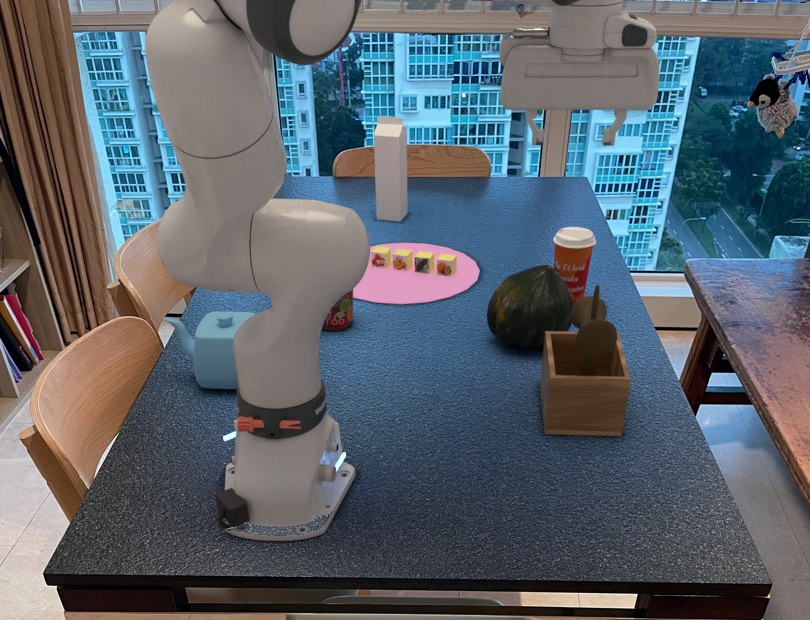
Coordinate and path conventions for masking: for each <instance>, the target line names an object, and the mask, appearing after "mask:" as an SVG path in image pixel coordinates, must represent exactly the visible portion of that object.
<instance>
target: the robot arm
mask: <svg viewBox="0 0 810 620" xmlns="http://www.w3.org/2000/svg"><path fill="white" fill-rule="evenodd" d="M472 1H474V2H503V3H511V4H518V5H519V4H520V5H528V6H535V7H544V8H549V20H548V27H532V28H524V27H515V28H512V30H511V31H508V32H507V33H505V35H503V36H502V39H501V40H500V43H499V56H498V57H499V62H500V64H501V66H502V67H503V70H502V76H501V83H500V84H501V85H500V91H499V102H500V104H501V106H502V108H503V109H505V110H507V111H525V119H526V121H527V124H528V126H529V129H530V130H531V133H532V135H531V146H534V147H535V146H544V138H545V129H544V128H538V126H537V124H536V122H535V120H534V119H537V117H538V111H587V110H588V111H613V115H614V117H615V119H614V121H613V122H612V124H611V125H610V127H609V128H603V130H602V135H603V136H602V138H601V144H602V146H603V147H607V146H608V147H614V146H615V142H616V135H617V133H618V131H619V130H620V128H621V127H622V126H623V124H624V123H625V122H626V120H627V118H628V117H627V115H628V111H650V110H651V109H652V107H654V106H655V105H656V103H657V101H658V95H659V86H660V61H659V57H658V55H657V53H656V51H655V50H654V48H653V47H654V45H656V41H657V36H658V35H657V29H656V27H655V26H654V24H653V23H652V22H651V21H649V20H647V19H645V18H642V17H640V16H638V15H635V14H632V13H629V12H626V11H623V7H624V0H472ZM361 3H362V0H172V1H171V3H169V4H167V5H166V6H165V7H163V8H162V9H161V10H160V11H159V12H157V14H156V15H155V16H154V17H153V18H152V20H151V22H150V24H149V26H148V28H147V31H146V35H145V38H144V39H145V40H144V54H145V60H146V66H147V72H148V76H149V81H150V85H151V89H152V93H153V97H154V100H155V104H156V107H157V110H158V113H159V116H160V119H161V122H162V125H163V127H164V130H165V132H166V135H167V137H168V139H169V141H170V142H169V143H170V144H171V146H172V149H173V152H174V155H175V157H176V160H177V162H178V165H179V167H180V171H181V174H182V177H183V181H184V185H185V190H184V193H183V195H182V196H181V197H180V198H179V199H178V200H176V201H174V202H172V203H171V204H170V205H169V206H168V208H166V210H165V211H164V213H163V214H162V216H161V219H160V221H159V224H158V228H157V234H156V245H157V246H156V247H157V252H158V255H159V258H160V261H161V263H162V265H163V267H164V269H165V270H166V272H167V274H169V276H170V277H171V278H172V280H174V281H175V282H177V283H179V284H182V285H186V286H190V287H194V288H197V289H202V290H205V291H210V292H221V293H239V294H240V293H241V294H261V295H266V296H269V298H270V301H271V306H270V307H268V308H266V309H264V310H262V311H259V312H257V313H254V314H255V315H254V316H252V317H250V318H249V319H247V320H246V321H245V322H244V323H243V324H242V325H241V326H240V327H239V328H238V330H237V331H236V334H235V336H234V340H233V353H234V360H235V366H236V373H237V379H238V385H239V387H238V389H236V401H235V402H236V403H235V404H236V411H237V418H236V419H235V420H233V424H234V430H235V431H233V432H230V433H229V434H226V435H223V436H222V438H223V441H224V442H226V441H229V440H231V439H233V438H234V439H235V441H234V455H232V456H231V458H230V462H229V463H228V464H227V465H226V466H225V477H224V490H222V491H220V492H217V493H215V494H214V496H215V502H216V507H217V512H218V513H219V514H218V516H217V523H218V525H219V527H220V528H221V529H223V531H224V532H226V533H228V534H229V535H232V536H235V537H239V538H242V539H248V540H256V541H267V542H268V541H269V542H289V541H290V542H291V541H292V542H293V541H299V540H300V541H301V540H307V539H311V538H315V537H318V536H321V535H323V534H325V532H326V531H327V530H328V528H329V526H330V524H331V522H332V520H333V519H334V517H335V516H336V515H335V514H336V513H337V511H338V509H339V508H340V505H341V504H342V502H343V500H344V498H345V497H346V494H347V493H348V491H349V489H350V487H351V485H352V483H353V482H354V481H355V480H354V479H355V478H356V475H357V474H356V469H355V467H354V466H353V465H351V464H350V463H348V462H346V461H344V460H345V458H346V457H347V454H346V451H344V452H343V447H342V439H341V432H340V424H339V423H338V422H337V421H336V419H334V418H333V417H332V416H331V415H330V414H329V412H328V411H327V409H328V406H327V400H328V399H327V398H328V397H327V391H326V387H325V383H324V380H323V379H322V376H321V375H322V374H321V360H320V359H321V352H320V351H321V333H322V329H323V328H322V326H323V323H324V321H325V319H326V316H327V315H328V313H329V311H330V310H331V308H332V307H333V306H334V304H335V303H336V302H337V301H338V300H339V299H340V298H341V297H343V296H344V295H345V294H347V293H348V292H350V291H351V290H352V289H353V288H355V287H356V286H357V284H358V283H359V282H360V281H361V279H362V278H363V276H364V274H365V272H366V269H367V267H368V263H369V259H370V246H371V244H370V242H371V241H370V237H369V232H368V230H367V227H366V226H365V224H364V222H363V220H362V219H361V217H360V216H359V215H358V213H357V212H356V211H355V210H354V209H353V208H350V207H346V206H342V205H339V204H336V203H331V202H326V201H322V200H318V199H301V198H300V199H298V198H297V199H296V198H274V197H275V195H277V193H278V192H279V190H280V188H281V187H282V186H283V184H284V181H285V178H286V175H287V169H288V158H287V157H288V156H287V151H286V148H285V144H284V140H283V137H282V133H281V130H280V126H279V123H278V118H277V115H276V112H275V107H274V104H273V103H274V102H273V100H272V96H271V93H270V89H269V86H268V84H267V80H266V77H265V75H264V72H263V71H264V50H265V51H266V52H268V53H270V54H271V55H273V56H275V57H277V58H279V59H281V60H283V61H285V62H288V63H290V64H294V65H299V66H311V65H312V66H313V65H316V64H318V63H321V62H323V61H324V60H325V59H327V58H328V57H329V56H331V55H332V54H333V53H334V52H336V51H337V50H338V49H339V48H340V47H341V46H342V44H344V42H345V41H346V39H348V36H349V35H350V33H351V32H352V30H353V27H354V25H355V22H356V20H357V17H358V14H359V11H360V7H361ZM332 511H333V512H332ZM331 512H332V514H331ZM328 514H329V515H330V514H331V515H330V517H329V519H328V521H327V523H326V524H325V526H324V527H323V528H322V529H320V530H317V531H314V532H310V533H306V534H300V535H289V536H267V535H254V534H247V533H242V532H238V531H244V530H247V529H248V528H249V525H248V524H244V523H245V522H247V523H252V524H255V525H261V526H267V527H268V526H270V527H272V526H295V525H301V524H306V523H308V522H311V521H315V520H314V519H318V518H317V516H318V517H320V518H322V517H325V516H326V517H328ZM322 515H324V516H322ZM224 518H225V520H226V521H227V522H228V523H229V524H230V525H229V524H226V523H225V522H224V521H223V519H224ZM231 526H232V527H236V526H237V527H236V529H237V530H238V531H235V530H232V529H229V530H226V528H229V527H231ZM308 530H309V528H308V527H307V526H304V525H302V526H298V527H297V528H296V531H297V532H299V533H305V532H307V531H308Z"/></svg>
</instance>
